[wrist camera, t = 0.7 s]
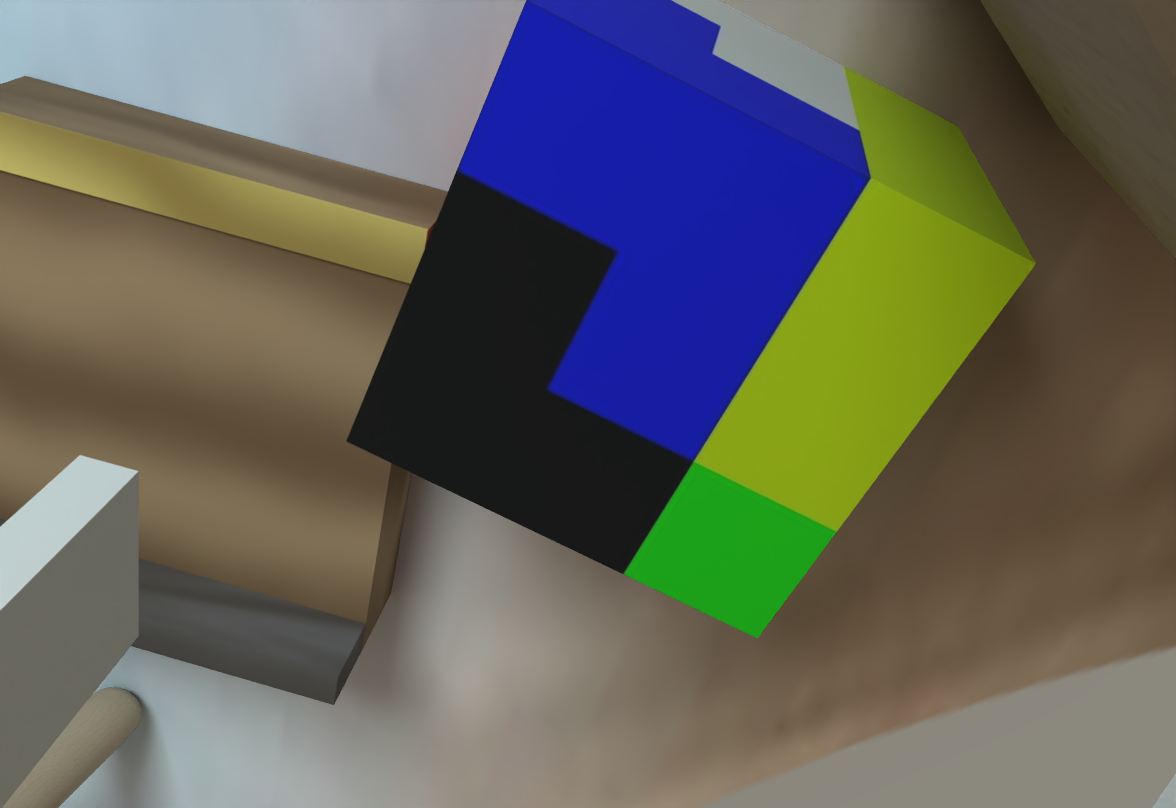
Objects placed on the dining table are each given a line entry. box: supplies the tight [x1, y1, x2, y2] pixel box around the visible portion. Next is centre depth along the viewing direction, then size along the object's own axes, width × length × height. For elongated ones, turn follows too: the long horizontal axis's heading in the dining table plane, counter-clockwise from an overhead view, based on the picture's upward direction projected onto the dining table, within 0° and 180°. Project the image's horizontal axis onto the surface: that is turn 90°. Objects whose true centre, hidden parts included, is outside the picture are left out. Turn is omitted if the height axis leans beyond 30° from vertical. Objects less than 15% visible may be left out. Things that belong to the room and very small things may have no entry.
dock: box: [0, 76, 448, 705], centre depth 32 cm, size 15×13×6 cm
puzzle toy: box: [346, 0, 1036, 638], centre depth 26 cm, size 10×10×10 cm
